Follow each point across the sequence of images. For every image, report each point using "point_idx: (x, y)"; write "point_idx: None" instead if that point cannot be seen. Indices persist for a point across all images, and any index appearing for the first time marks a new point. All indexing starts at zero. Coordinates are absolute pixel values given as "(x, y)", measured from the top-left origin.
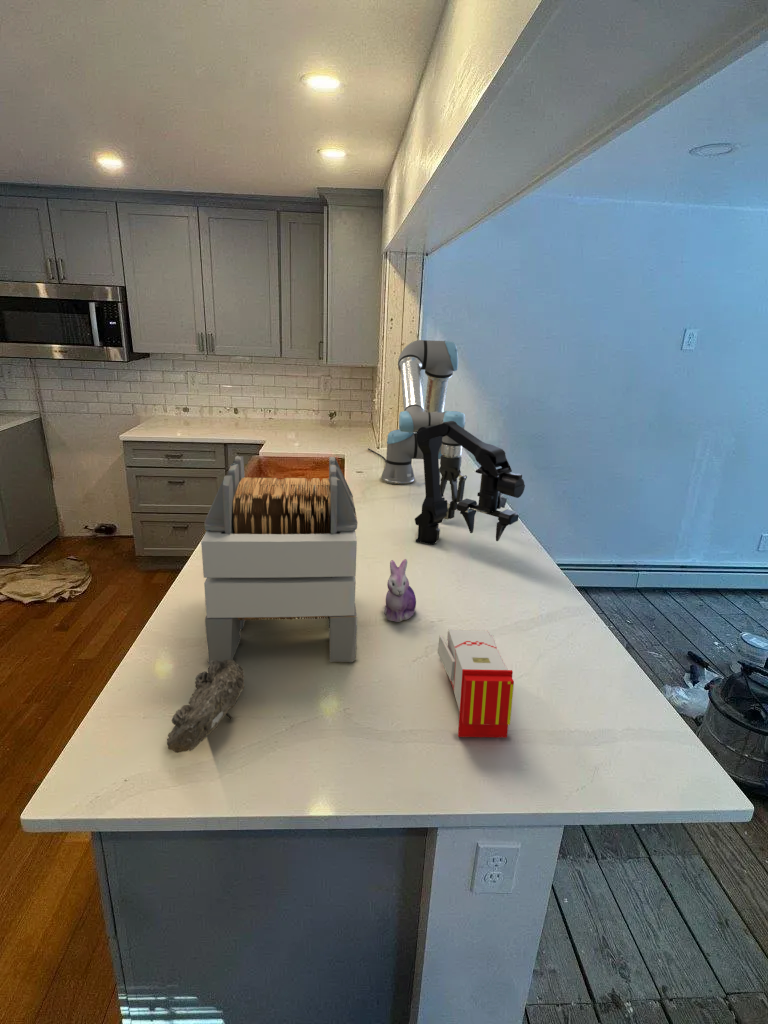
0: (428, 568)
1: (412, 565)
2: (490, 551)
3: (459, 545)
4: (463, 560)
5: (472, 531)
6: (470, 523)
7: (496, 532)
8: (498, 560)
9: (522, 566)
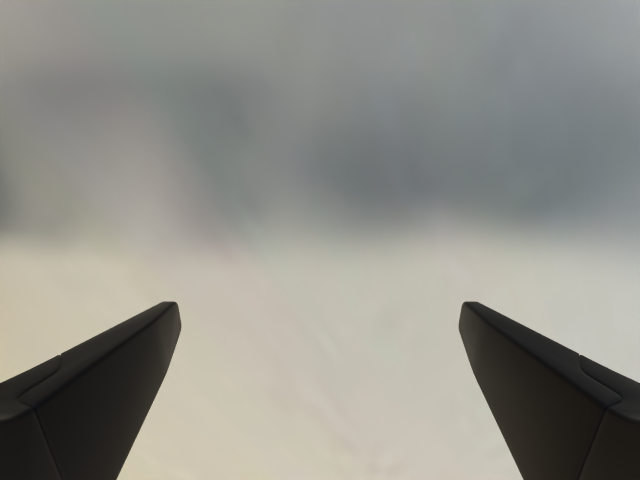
0: (184, 437)
1: None
2: (273, 17)
3: (59, 92)
4: (236, 274)
5: (173, 319)
6: (123, 442)
7: (516, 452)
8: (390, 127)
9: (557, 98)
